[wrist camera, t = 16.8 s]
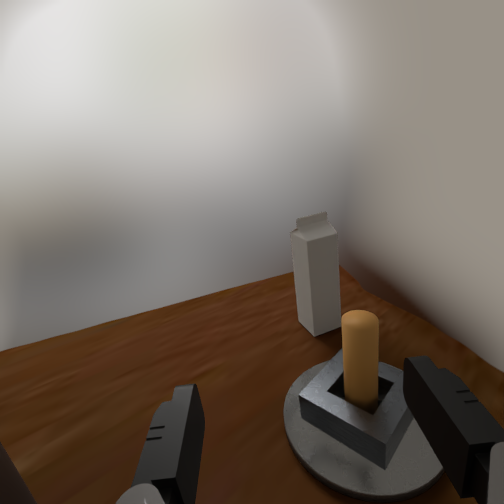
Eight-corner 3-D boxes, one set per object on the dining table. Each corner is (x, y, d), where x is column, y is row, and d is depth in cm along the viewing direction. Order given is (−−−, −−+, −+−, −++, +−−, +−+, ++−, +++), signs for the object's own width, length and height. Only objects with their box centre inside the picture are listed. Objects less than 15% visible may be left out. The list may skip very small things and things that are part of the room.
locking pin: (339, 413, 42) (334, 322, 37) (354, 394, 44) (351, 306, 39) (369, 430, 39) (368, 334, 34) (383, 408, 42) (384, 316, 37)
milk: (298, 321, 65) (287, 215, 57) (324, 312, 66) (316, 207, 58) (314, 337, 59) (304, 222, 51) (342, 327, 61) (336, 214, 53)
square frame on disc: (254, 431, 43) (248, 400, 41) (333, 349, 56) (331, 322, 54) (413, 551, 29) (416, 513, 27) (470, 406, 42) (475, 373, 40)
